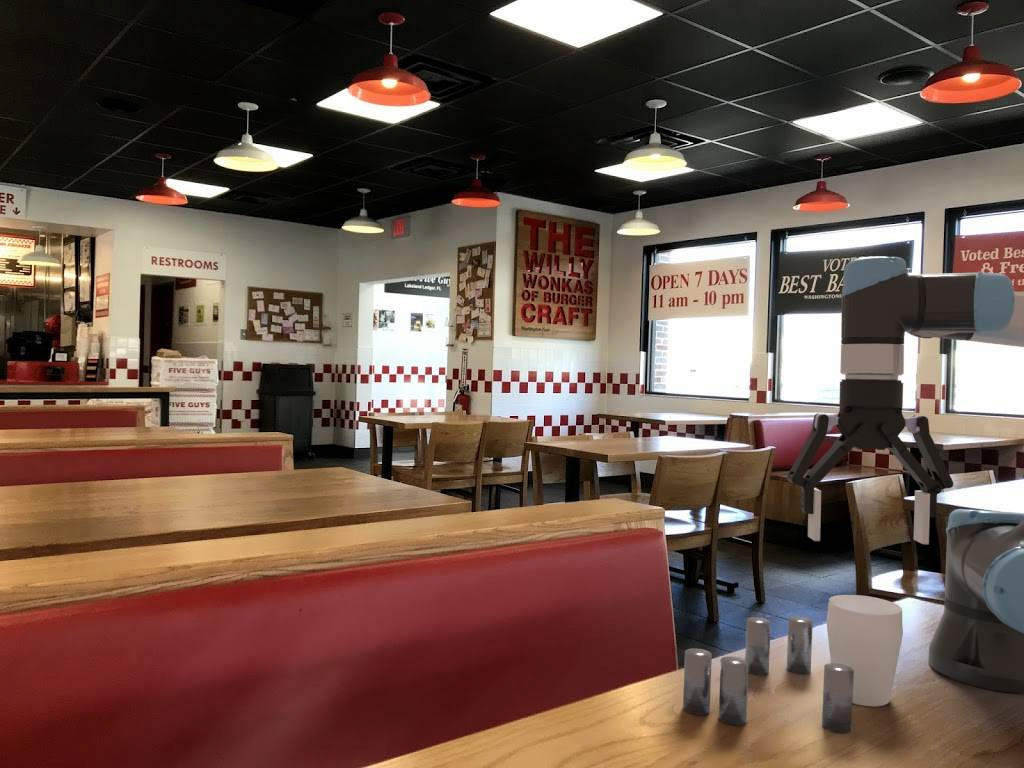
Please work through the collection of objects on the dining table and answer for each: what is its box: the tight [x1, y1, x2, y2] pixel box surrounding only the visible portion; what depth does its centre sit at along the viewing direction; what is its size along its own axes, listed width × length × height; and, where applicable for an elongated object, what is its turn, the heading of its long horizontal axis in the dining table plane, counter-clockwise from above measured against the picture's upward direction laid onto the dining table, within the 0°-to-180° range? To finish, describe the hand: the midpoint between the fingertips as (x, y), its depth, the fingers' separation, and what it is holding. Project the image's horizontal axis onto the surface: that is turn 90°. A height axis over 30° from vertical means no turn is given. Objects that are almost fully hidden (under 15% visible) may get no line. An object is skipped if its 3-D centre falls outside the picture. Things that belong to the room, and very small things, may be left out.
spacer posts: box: [682, 616, 854, 734], centre depth 104 cm, size 19×21×7 cm
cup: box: [826, 594, 904, 708], centre depth 103 cm, size 9×9×12 cm
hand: (867, 540), depth 104 cm, fingers open, 13 cm apart
